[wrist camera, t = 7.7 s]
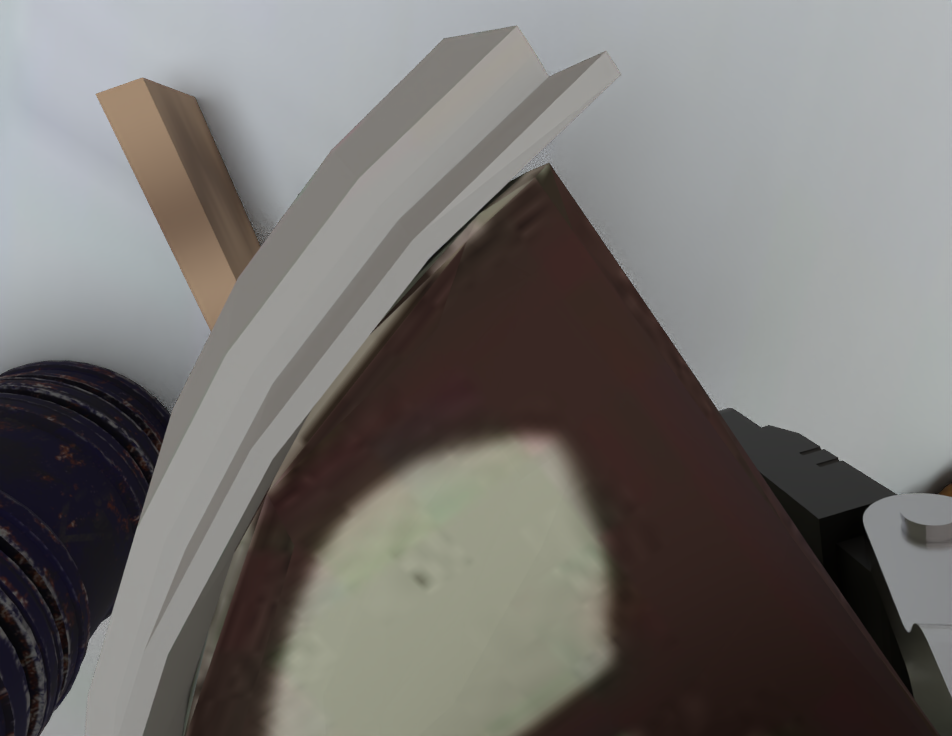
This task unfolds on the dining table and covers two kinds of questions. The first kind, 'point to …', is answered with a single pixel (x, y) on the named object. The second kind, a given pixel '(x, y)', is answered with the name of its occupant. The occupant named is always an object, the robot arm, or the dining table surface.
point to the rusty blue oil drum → (65, 521)
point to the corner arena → (184, 186)
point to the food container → (467, 474)
